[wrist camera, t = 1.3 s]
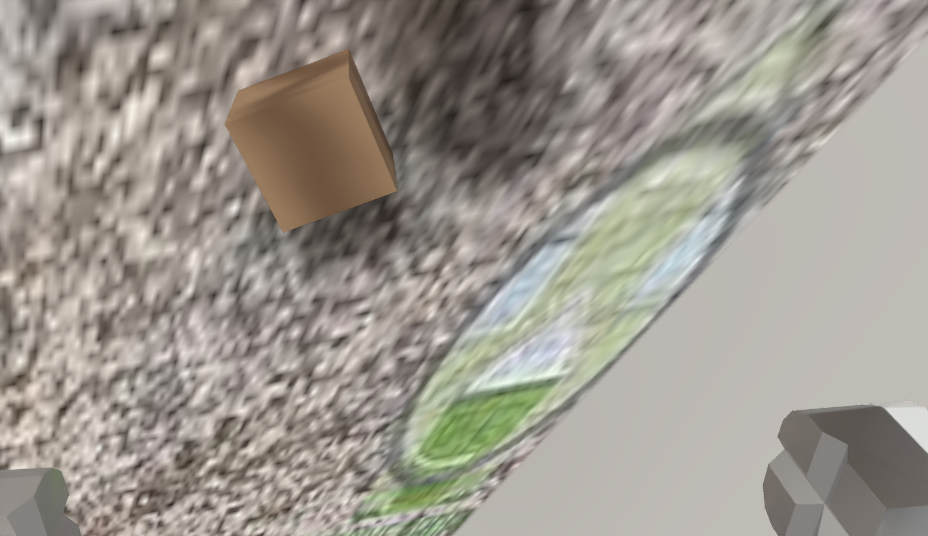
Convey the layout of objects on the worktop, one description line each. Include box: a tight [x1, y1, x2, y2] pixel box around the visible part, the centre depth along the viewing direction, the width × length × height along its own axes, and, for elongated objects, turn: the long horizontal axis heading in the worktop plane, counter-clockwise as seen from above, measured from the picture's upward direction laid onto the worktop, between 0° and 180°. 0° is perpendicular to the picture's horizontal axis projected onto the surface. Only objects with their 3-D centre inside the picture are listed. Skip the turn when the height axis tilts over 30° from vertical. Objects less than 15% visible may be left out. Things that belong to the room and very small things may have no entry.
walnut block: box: [225, 49, 397, 233], centre depth 35 cm, size 6×6×4 cm
